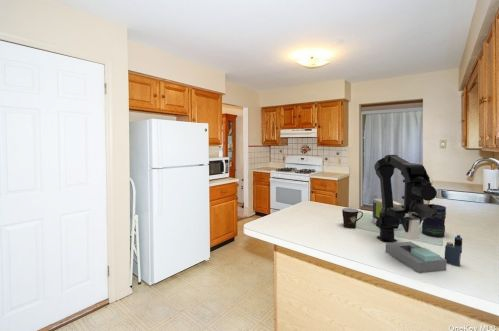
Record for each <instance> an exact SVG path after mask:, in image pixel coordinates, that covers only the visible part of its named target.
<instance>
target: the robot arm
mask: <svg viewBox="0 0 499 331" xmlns="http://www.w3.org/2000/svg"><path fill="white" fill-rule="evenodd" d="M395 169H398V170H399V171H400V175H401V176H402V177H403V178H404V179H403V180H402V182H403V183H404V191H403V192H404V195H402V196H401V199H402V200H403V206H402V207H401V208H403V210H402V209H399V208H394V206H393V201H394V197H393V188H392V185H393V184H392V177H393V175H394V173H395ZM374 171H375V175H376V176H377V177H378V179H379V182H380V192H381V199H382V210H381V211H380V213H379V218H378V220H377V221H376V224H375V225H376V227H377V228H378V229H379V235H377V236H376V238H377V239H379V240H380V241H382V242H384V243H393V242H397V239H395V230H394V229H398V227H399V223H400V222H401V224H402V229H403V228H404V230H405V232H408V229H409V220H410V219H411V218H410V217H409V215H412V216H415V217H418V218H420V224H419V227H420V226H421V225H422V222H423V220H424V219H425V218H428V217H429V218H430V217H431V216H437V207H436V205H437V204H435V203H425V201H427V202H428V201H429V202H430V201H433V200H435V198H436V197H437V194H438V192H437V189H436V188H435V187H434V186H432V182H431V180H430V176H429V174H428V173H427V170H426V168H425V166H424V165H423V164H420V163H415V162H410V161H407V160H406V159H403V158H402V157H400V156H399V155H398V154H386V155H385V156H384V157H382V158H380V159H378V160H377V161H376V162H375V163H374ZM428 204H429V205H428Z"/></svg>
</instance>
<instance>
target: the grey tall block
mask: <svg viewBox="0 0 499 331" xmlns="http://www.w3.org/2000/svg"><path fill="white" fill-rule="evenodd" d="M409 217H410V218H411V219H410V220H409V229H408V232H405V230H404V228H403V227H402V236H403V237H405V238H408V239H409V240H419V239H420V226H419V224H420V218H418V217H415V216H412V214H409ZM420 225H421V224H420Z"/></svg>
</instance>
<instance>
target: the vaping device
mask: <svg viewBox="0 0 499 331" xmlns="http://www.w3.org/2000/svg"><path fill="white" fill-rule="evenodd" d="M462 252H463V238H462V237H461V235H460V234H457V235H456V236H455V237H454V243H453V242H450V241H447V242H446V244H445V246H444V259H446V260H447V264H449V265H453V266H456V267H461V256H462V255H461V254H462Z"/></svg>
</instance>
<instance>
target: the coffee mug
mask: <svg viewBox="0 0 499 331" xmlns="http://www.w3.org/2000/svg"><path fill="white" fill-rule="evenodd" d="M341 212H342V221H343V223H342V224H343V227H344V228H346V229H352V230H354V229H356V227H357V222H358V221H359V220H360V219H362V218H363V216H364V212H362V210H358V209H357V208H354V207H353V208H352V207H343V208H341ZM359 213H361V216H360V217H359V218H358V214H359Z"/></svg>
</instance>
